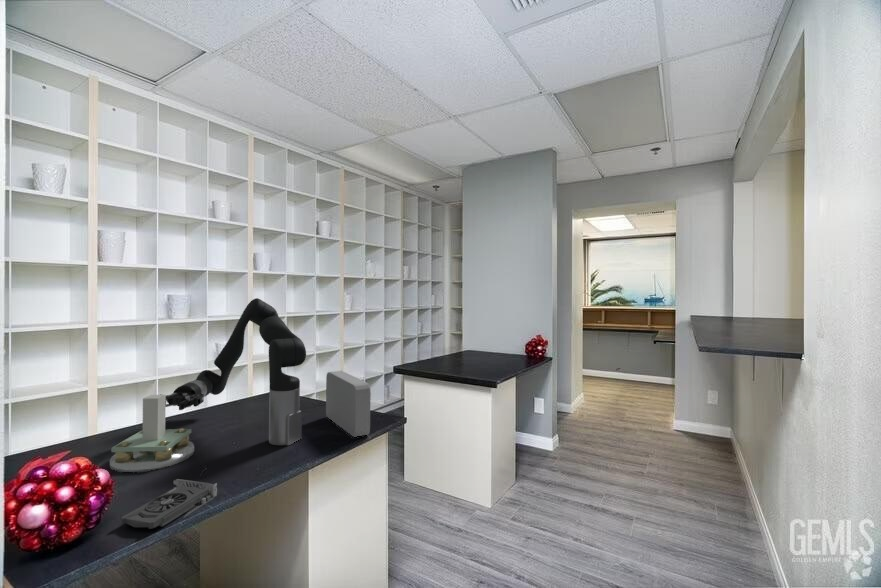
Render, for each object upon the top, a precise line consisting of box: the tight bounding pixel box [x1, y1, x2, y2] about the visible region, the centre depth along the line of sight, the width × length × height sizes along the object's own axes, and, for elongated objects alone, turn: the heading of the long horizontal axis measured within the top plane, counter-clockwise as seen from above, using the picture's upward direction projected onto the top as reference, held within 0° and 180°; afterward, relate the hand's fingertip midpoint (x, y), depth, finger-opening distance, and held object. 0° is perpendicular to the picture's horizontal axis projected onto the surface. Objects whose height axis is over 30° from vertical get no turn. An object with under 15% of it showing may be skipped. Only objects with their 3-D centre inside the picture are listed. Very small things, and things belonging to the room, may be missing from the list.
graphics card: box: [121, 478, 218, 530], centre depth 91 cm, size 17×4×12 cm
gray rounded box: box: [325, 370, 372, 438], centre depth 148 cm, size 29×8×18 cm, turn 35°
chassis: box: [109, 427, 195, 474], centre depth 119 cm, size 20×20×6 cm
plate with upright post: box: [110, 394, 192, 453], centre depth 119 cm, size 14×14×13 cm
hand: (165, 407), depth 124 cm, fingers open, 8 cm apart
